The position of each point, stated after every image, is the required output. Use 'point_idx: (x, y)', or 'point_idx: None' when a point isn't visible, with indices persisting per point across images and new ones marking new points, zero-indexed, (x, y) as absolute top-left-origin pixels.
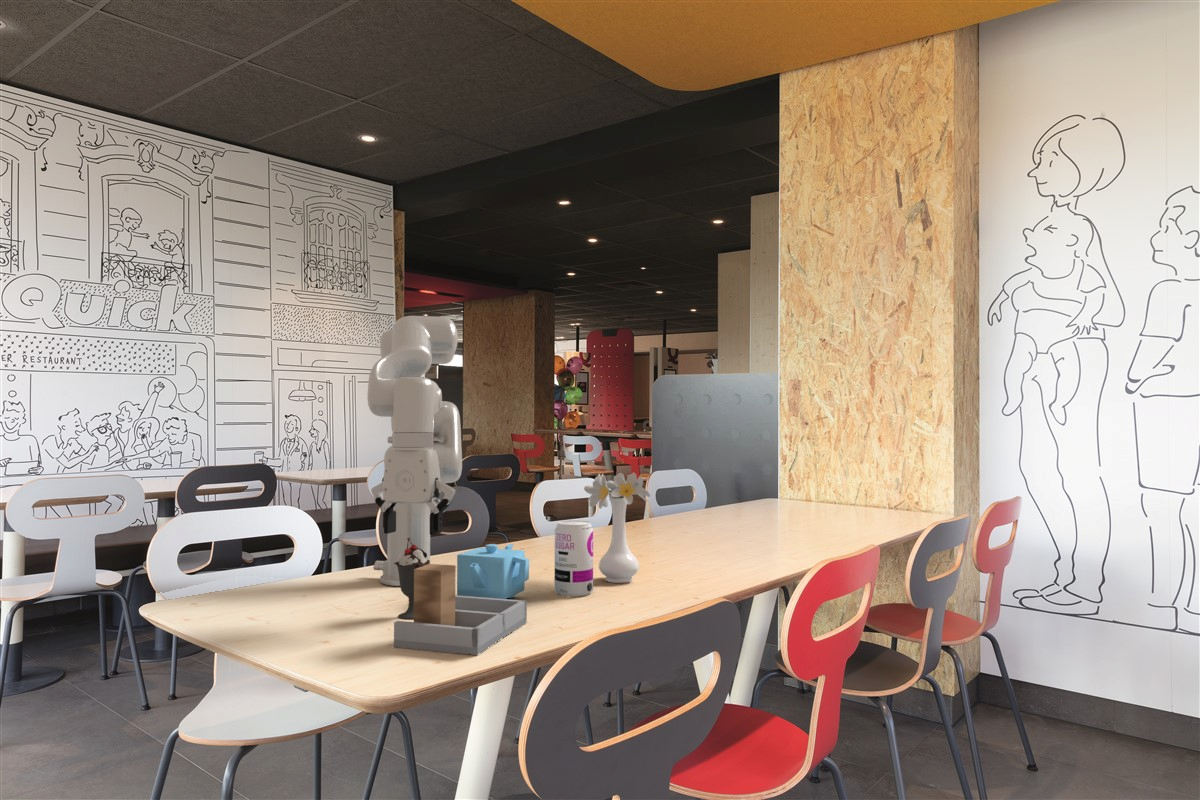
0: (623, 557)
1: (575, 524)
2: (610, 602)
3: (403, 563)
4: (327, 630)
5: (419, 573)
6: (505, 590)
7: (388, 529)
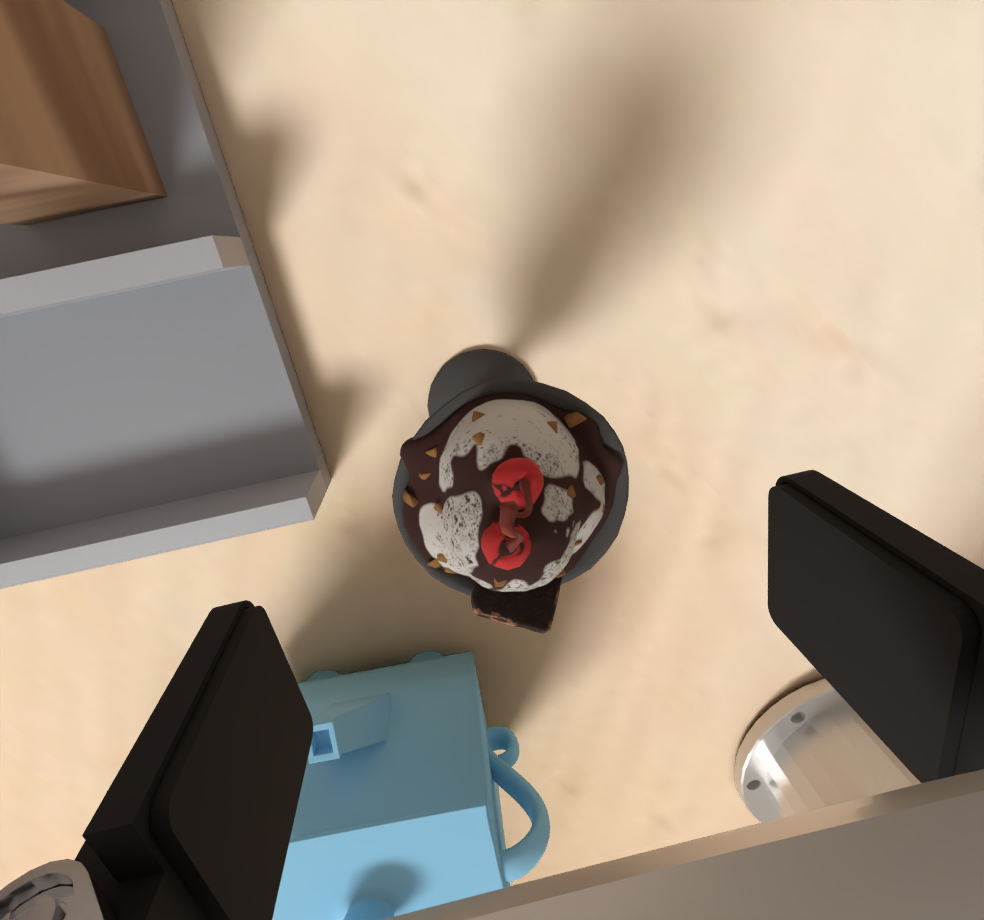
0: None
1: None
2: (6, 874)
3: (501, 406)
4: (651, 17)
5: None
6: None
7: (791, 515)
